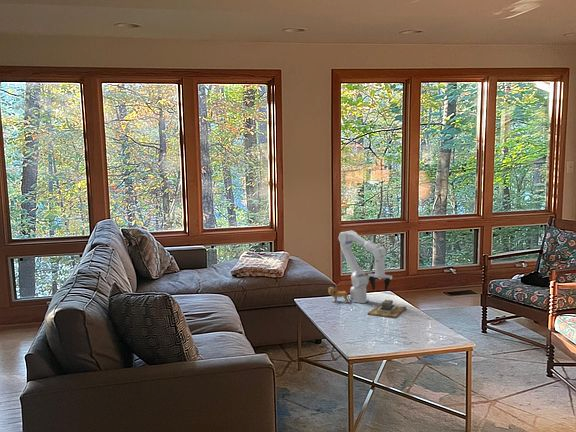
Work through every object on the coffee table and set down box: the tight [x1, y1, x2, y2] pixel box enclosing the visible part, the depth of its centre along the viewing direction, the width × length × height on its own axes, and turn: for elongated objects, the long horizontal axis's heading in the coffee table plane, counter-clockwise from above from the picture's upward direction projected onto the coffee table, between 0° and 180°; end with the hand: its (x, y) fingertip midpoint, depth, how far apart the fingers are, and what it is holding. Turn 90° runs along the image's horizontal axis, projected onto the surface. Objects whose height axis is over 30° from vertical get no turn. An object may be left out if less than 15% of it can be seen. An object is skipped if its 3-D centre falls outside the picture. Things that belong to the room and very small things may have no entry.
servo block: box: [380, 298, 394, 310], centre depth 324 cm, size 4×9×6 cm, turn 151°
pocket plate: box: [367, 303, 407, 319], centre depth 325 cm, size 16×20×2 cm
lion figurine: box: [328, 286, 353, 304], centre depth 348 cm, size 15×5×9 cm, turn 73°
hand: (379, 290), depth 336 cm, fingers open, 7 cm apart
